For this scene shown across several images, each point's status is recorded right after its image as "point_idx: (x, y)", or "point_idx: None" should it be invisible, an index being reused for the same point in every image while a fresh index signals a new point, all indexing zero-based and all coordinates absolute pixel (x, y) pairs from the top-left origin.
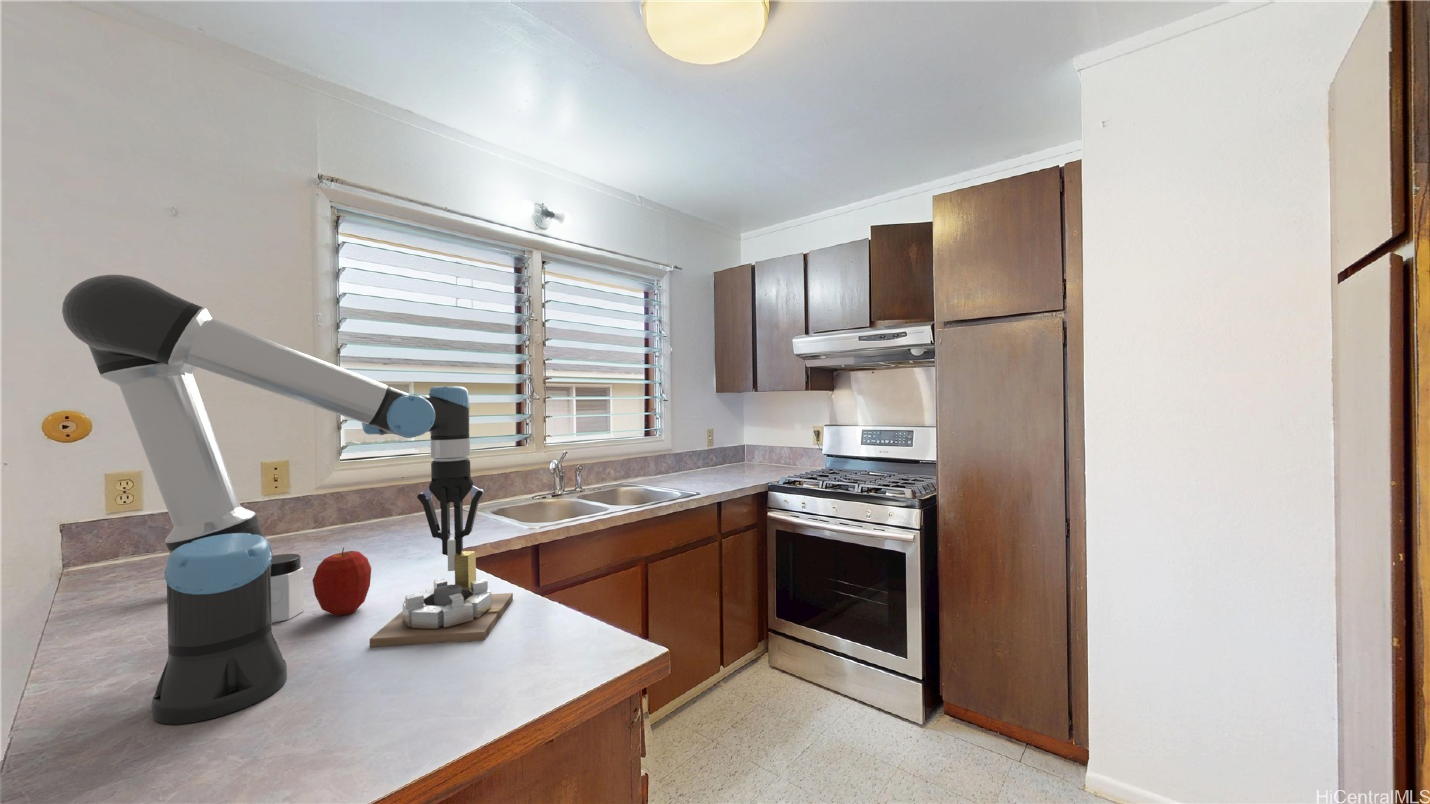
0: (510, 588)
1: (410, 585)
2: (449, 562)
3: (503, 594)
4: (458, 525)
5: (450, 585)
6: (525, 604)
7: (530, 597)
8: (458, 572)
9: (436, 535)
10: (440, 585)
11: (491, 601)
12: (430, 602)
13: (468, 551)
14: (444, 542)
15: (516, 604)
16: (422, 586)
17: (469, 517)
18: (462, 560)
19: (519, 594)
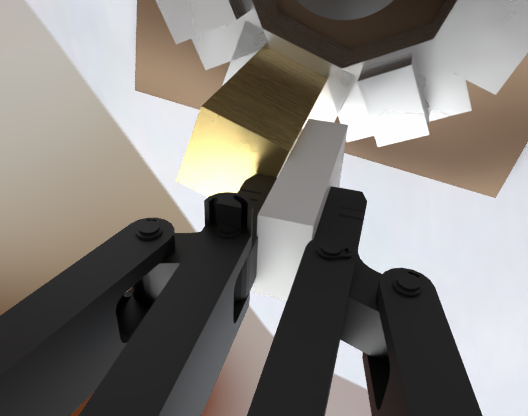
0: (177, 200)
1: (509, 381)
2: (331, 146)
3: (165, 88)
4: (183, 292)
5: (336, 5)
6: (93, 10)
7: (92, 80)
8: (292, 98)
9: (395, 277)
10: (393, 67)
11: None
12: (445, 9)
13: None
14: (340, 238)
15: (125, 25)
16: (469, 353)
17: (44, 320)
18: (248, 112)
19: (136, 128)
